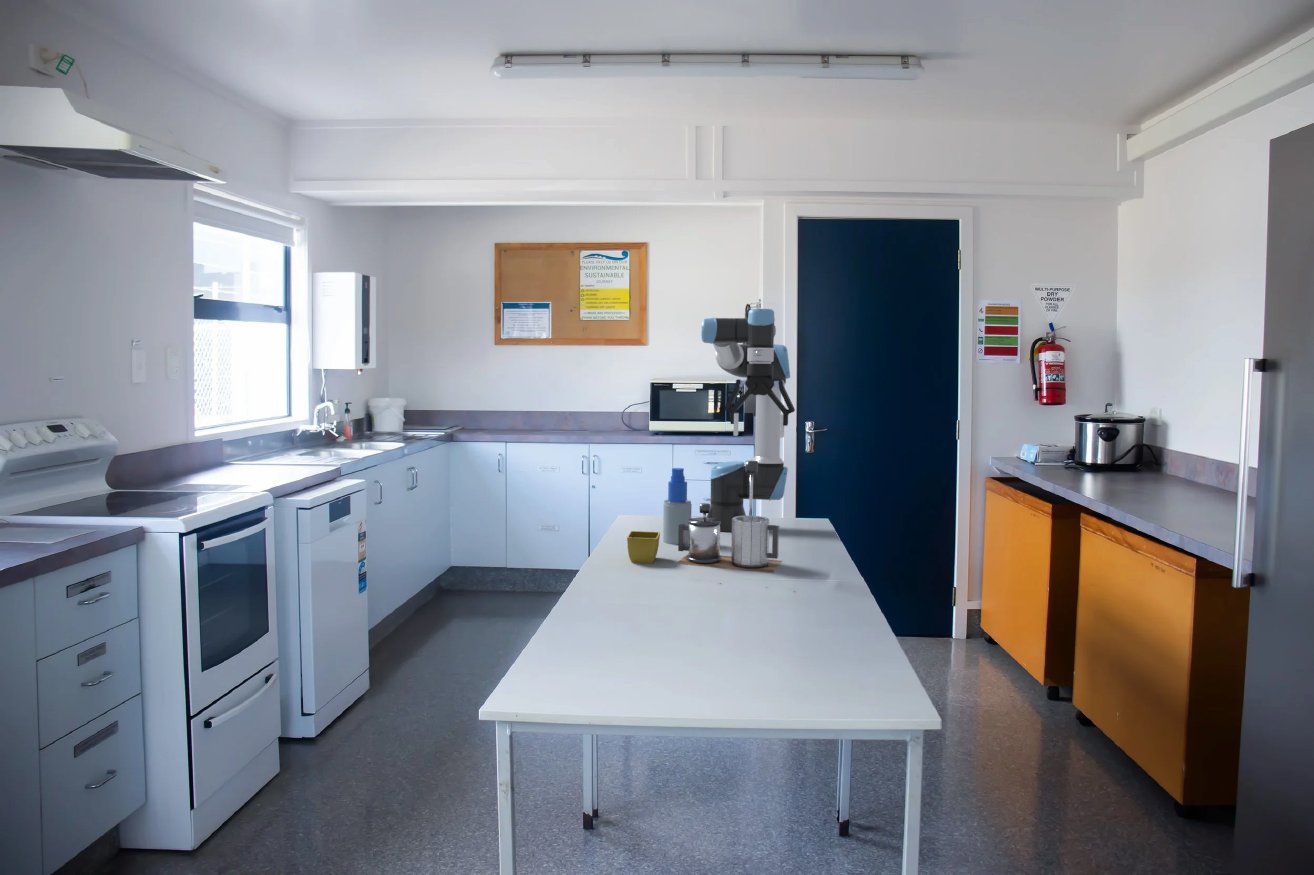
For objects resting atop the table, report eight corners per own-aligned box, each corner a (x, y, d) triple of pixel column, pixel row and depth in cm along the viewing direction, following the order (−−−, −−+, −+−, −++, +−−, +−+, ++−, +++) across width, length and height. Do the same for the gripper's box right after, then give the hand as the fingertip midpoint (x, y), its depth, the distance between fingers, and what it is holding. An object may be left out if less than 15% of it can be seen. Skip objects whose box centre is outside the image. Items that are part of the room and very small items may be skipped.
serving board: (689, 557, 243) (689, 552, 243) (782, 565, 234) (782, 560, 234) (675, 568, 230) (675, 563, 230) (772, 578, 221) (773, 572, 221)
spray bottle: (690, 542, 262) (691, 466, 260) (691, 549, 253) (692, 470, 251) (663, 542, 262) (663, 466, 260) (662, 549, 254) (663, 470, 251)
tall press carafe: (736, 558, 236) (736, 514, 235) (780, 562, 232) (781, 517, 231) (727, 566, 227) (728, 521, 225) (773, 571, 222) (774, 524, 221)
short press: (684, 553, 241) (684, 499, 240) (725, 557, 237) (725, 502, 236) (673, 561, 232) (674, 505, 230) (716, 565, 228) (717, 508, 226)
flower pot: (660, 561, 238) (660, 531, 237) (657, 569, 229) (657, 538, 228) (630, 560, 239) (630, 530, 238) (626, 568, 230) (626, 537, 229)
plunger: (741, 524, 233) (742, 459, 231) (764, 525, 231) (766, 460, 229) (736, 528, 227) (737, 462, 225) (759, 530, 225) (761, 463, 223)
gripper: (715, 362, 233) (713, 435, 235) (801, 363, 225) (799, 438, 227) (721, 362, 240) (720, 433, 242) (805, 363, 232) (803, 436, 234)
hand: (758, 436), depth 235 cm, fingers open, 13 cm apart
